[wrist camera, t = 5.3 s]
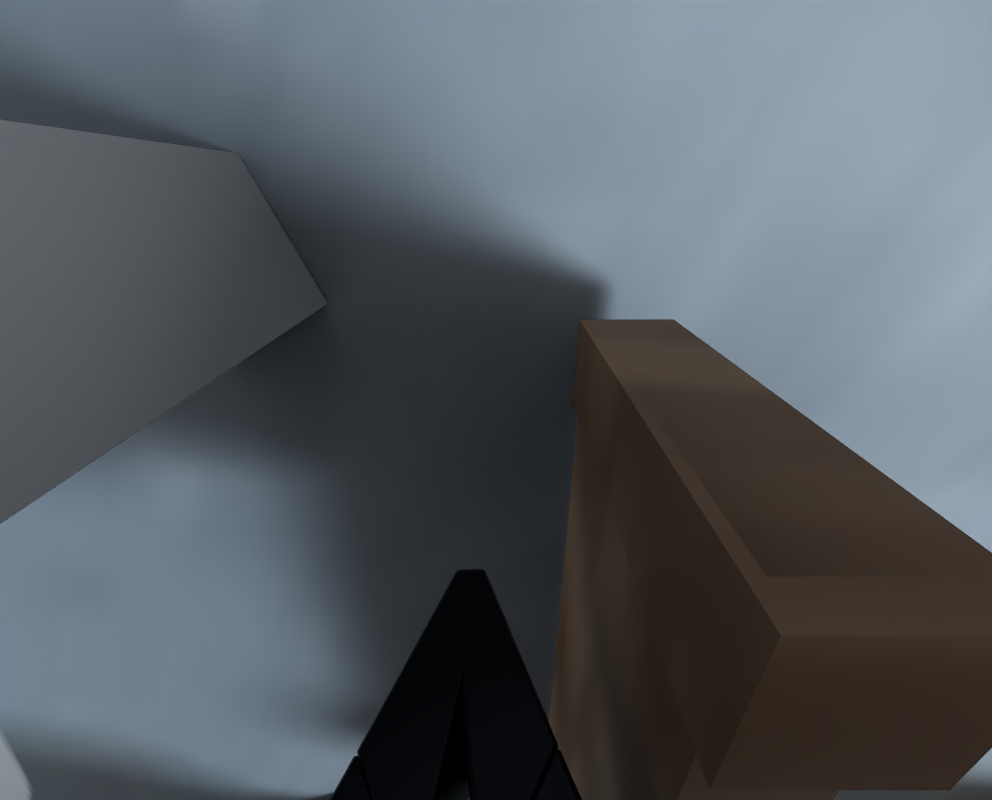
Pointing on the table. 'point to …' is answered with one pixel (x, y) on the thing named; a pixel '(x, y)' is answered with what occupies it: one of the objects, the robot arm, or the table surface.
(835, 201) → the table surface
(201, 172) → the post
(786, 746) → the gate
